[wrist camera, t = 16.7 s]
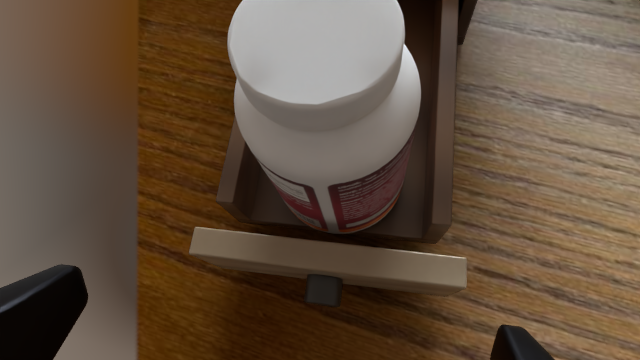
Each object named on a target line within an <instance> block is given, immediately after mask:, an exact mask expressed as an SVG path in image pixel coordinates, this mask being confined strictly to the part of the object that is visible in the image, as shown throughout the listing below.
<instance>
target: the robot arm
mask: <svg viewBox="0 0 640 360" xmlns="http://www.w3.org/2000/svg"><path fill="white" fill-rule="evenodd" d="M87 300H88V293H87V289H86V286H85V282H84V279H83V276H82V272H81V270H80V269H79V268H78V267H76V266H70V265H57V266H54V267H52V268H49V269H47V270H44V271H42V272H39V273H37V274H34V275H32V276H29V277H27V278H24V279H22V280H19V281H17V282H14V283H12V284H9V285H7V286H4V287H2V288H0V360H53V359H54V357H55V356H56V354H57V352H58V351H59V349H60V347H61V346H62V344H63V342H64V341H65V339H66V337H67V336H68V334H69V333H70V331H71V329H72V328H73V326H74V324H75V323H76V321H77V319H78V318H79V316H80V314H81V313H82V311H83V310H84V308H85V306H86V304H87ZM490 360H555V359H554V358H553V357H552V356H551V355H550V354H549V353H548V352H547V351H546V350H545V349H544V348H543V347H542V346H541V345H540V344H539V343H538V342H537V341H536V340H535V339H534V338H533V337H532V336H531V335H530V334H529V333H528V332H527V331H526V330H525V329H524V328H522V327H519V326H511V325H501V326H500V327H499V328H498V331H497V334H496V338H495V341H494V345H493V348H492V352H491V357H490Z"/></svg>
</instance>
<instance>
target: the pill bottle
mask: <svg viewBox="0 0 640 360" xmlns="http://www.w3.org/2000/svg"><path fill="white" fill-rule="evenodd" d="M404 40H405V26H404V18H403V14H402V11H401V8H400V6H399V4H398V2H397V0H243V1H242V2H241V3H240V5H239V6H238V8H237V9H236V11H235V13H234V15H233V18H232V21H231V23H230V27H229V31H228V42H227V45H228V54H229V58H230V62H231V65H232V68H233V70H234V72H235V75H236V77H237V81H236V86H235V93H234V109H235V115H236V120H237V123H238V126H239V129H240V132H241V134H242V136H243V138H244V140H245V141H246V143H247V145H248V147H249V148H250V150H251V152H252V153H253V155H254V156H255V158H256V159H257V160H258V162H259V163H260V165H261V166H262V168H263V170H264V171H265V173H266V174H267V176H268V177H269V179H270V180H271V182H272V183H273V185H274V186H275V188H276V189H277V191H278V192H279V194H280V195H281V197H282V199H283V200H284V201H285V203H286V205H287V206H288V207H289V209H290V210H291V211H292V212H293V213H294V214H295V215H296V216H297V217H298V218H299V219H300V220H301V221H302V222H304V223H305V224H307V225H309V226H310V227H312V228H315V229H317V230H320V231H323V232H327V233H335V234H346V233H353V232H357V231H360V230H363V229H366V228H368V227H370V226H372V225H374V224H375V223H377V222H378V221H380V220H381V219H382V218H383V217H385V216H386V215H387V214H388V212H389V211H390V210H391V209H392V207H393V206H394V204H395V203H396V201H397V199H398V197H399V195H400V192H401V190H402V187H403V183H404V178H405V174H406V169H407V164H408V160H409V155H410V150H411V146H412V142H413V138H414V132H415V128H416V124H417V119H418V114H419V109H420V101H421V85H420V79H419V73H418V70H417V67H416V64H415V62H414V59H413V57H412V55H411V53H410V52H409V50H408V49H407V47H406V45H405V44H404Z"/></svg>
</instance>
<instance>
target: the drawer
mask: <svg viewBox="0 0 640 360" xmlns="http://www.w3.org/2000/svg"><path fill="white" fill-rule="evenodd" d="M397 2H398V4H399V6H400V8H401V11H402V14H403V18H404V26H405V40H404V44H405V45H406V47H407V49H408V50H409V52H410V53H411V55H412V57H413V59H414V62H415V64H416V67H417V70H418V73H419V79H420V85H421V101H420V109H419V114H418V119H417V124H416V128H415V132H414V138H413V142H412V146H411V150H410V155H409V160H408V164H407V169H406V174H405V178H404V183H403V187H402V190H401V192H400V195H399V197H398V199H397V201H396V203H395V204H394V206H393V207H392V209H391V210H390V211H389V212H388V214H387V215H386V216H385V217H383V218H382V219H381V220H380V221H378V222H377V223H375V224H374V225H372V226H370V227H368V228H366V229H363V230H360V231H357V232H353V233H346V234H350V235H359V236H368V237H377V238H386V239H395V240H404V241H413V242H422V243H431V244H436V243H437V242H438V241H439V240H440V239H441V237H442V236H443V235H444V234H445V233H446V231H447V230H448V229H449V228H450V227H451V224H452V192H453V160H454V129H455V97H456V65H457V34H458V2H459V0H397ZM216 202H217V203H218V204H219V205H221V206H222V207H223V208H224V209H225V210H227V211H228V212H229V213H230V214H231V215H232V216H234V217H235V218H236V219H237V220H238V221H240V222H242V223H251V224H260V225H269V226H278V227H287V228H296V229H305V230H314V231H320V230H317V229H315V228H312V227H310V226H309V225H307V224H305V223H304V222H302V221H301V220H300V219H299V218H298V217H297V216H296V215H295V214H294V213H293V212H292V211H291V210H290V209H289V207H288V206H287V205H286V203H285V201H284V200H283V199H282V197H281V195H280V194H279V192H278V191H277V189H276V188H275V186H274V185H273V183H272V182H271V180H270V179H269V177H268V176H267V174H266V173H265V171H264V170H263V168H262V166H261V165H260V163H259V162H258V160H257V159H256V158H255V156H254V155H253V153H252V152H251V150H250V148H249V147H248V145H247V143H246V141H245V140H244V138H243V136H242V134H241V132H240V129H239V126H238V123H237V120H236V115H235V118H234V122H233V127H232V131H231V136H230V140H229V145H228V149H227V153H226V158H225V162H224V167H223V171H222V176H221V180H220V184H219V189H218V193H217V198H216ZM189 254H190V255H192V256H194V257H197V258H199V259H202V260H204V261H206V262H209V263H211V264H213V265H216V266H218V267H221V268H225V269H233V270H241V271H249V272H257V273H264V274H272V275H280V276H288V277H295V278H303V279H307V281H306V288H305V295H304V302H305V303H308V304H314V305H321V306H328V307H340V303H341V294H342V286H343V284H350V285H358V286H366V287H373V288H381V289H389V290H397V291H405V292H412V293H420V294H428V295H436V296H444V297H445V296H448V295H451V294H453V293H456V292H458V291H461V290H463V289H466V287H467V259H466V258H465V257H456V256H448V255H439V254H430V253H421V252H413V251H404V250H395V249H386V248H378V247H369V246H360V245H351V244H343V243H334V242H325V241H317V240H308V239H299V238H290V237H282V236H273V235H264V234H255V233H247V232H238V231H229V230H220V229H212V228H203V227H195V229H194V233H193V237H192V241H191V246H190V250H189Z"/></svg>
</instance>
